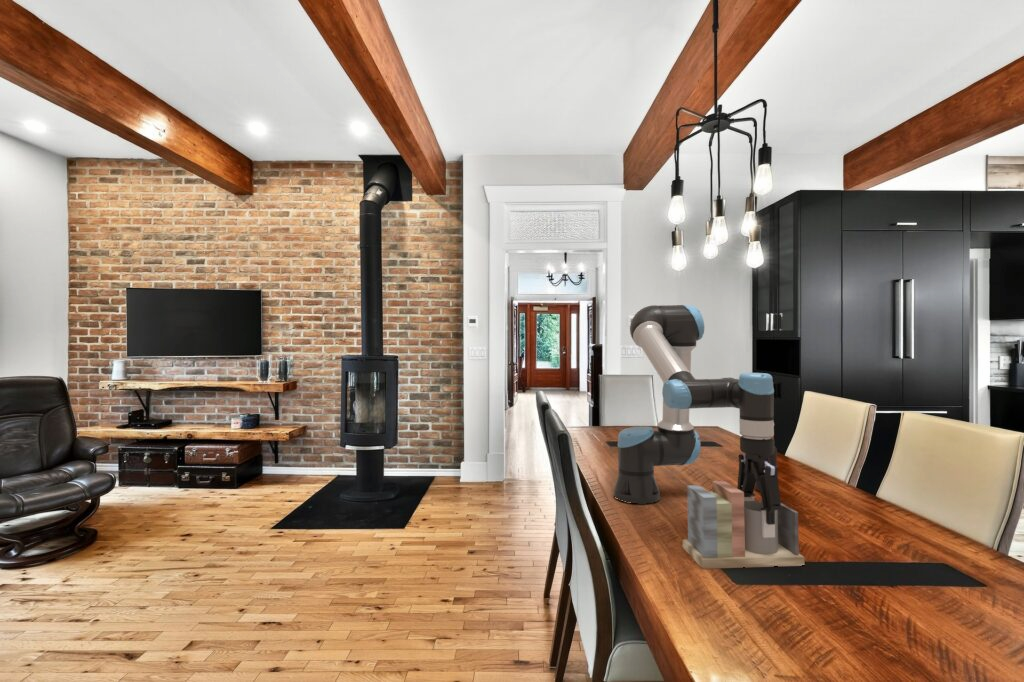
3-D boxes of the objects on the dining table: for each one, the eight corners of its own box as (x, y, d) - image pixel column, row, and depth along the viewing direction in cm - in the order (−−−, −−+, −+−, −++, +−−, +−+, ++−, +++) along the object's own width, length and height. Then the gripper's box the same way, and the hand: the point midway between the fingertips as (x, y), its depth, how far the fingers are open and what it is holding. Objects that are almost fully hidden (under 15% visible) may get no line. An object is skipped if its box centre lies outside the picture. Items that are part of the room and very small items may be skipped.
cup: (762, 557, 115) (762, 514, 115) (732, 544, 122) (731, 504, 122) (785, 549, 119) (784, 508, 119) (754, 538, 126) (754, 498, 126)
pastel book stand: (682, 547, 126) (681, 480, 126) (775, 544, 127) (774, 478, 127) (702, 568, 114) (701, 494, 114) (804, 565, 115) (803, 492, 115)
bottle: (781, 491, 171) (780, 433, 172) (771, 494, 168) (770, 435, 168) (762, 486, 177) (761, 430, 177) (751, 490, 173) (750, 433, 173)
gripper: (798, 444, 110) (800, 547, 110) (749, 428, 131) (751, 514, 131) (765, 445, 110) (767, 547, 110) (721, 429, 131) (723, 515, 131)
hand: (758, 529), depth 120 cm, fingers closed on cup, 8 cm apart
